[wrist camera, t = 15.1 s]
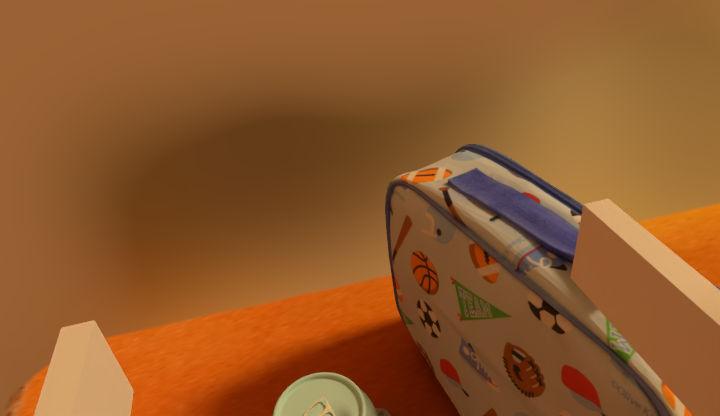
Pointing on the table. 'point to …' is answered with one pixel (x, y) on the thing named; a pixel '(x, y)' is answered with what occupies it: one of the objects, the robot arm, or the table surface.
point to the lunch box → (507, 295)
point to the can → (324, 397)
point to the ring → (382, 412)
